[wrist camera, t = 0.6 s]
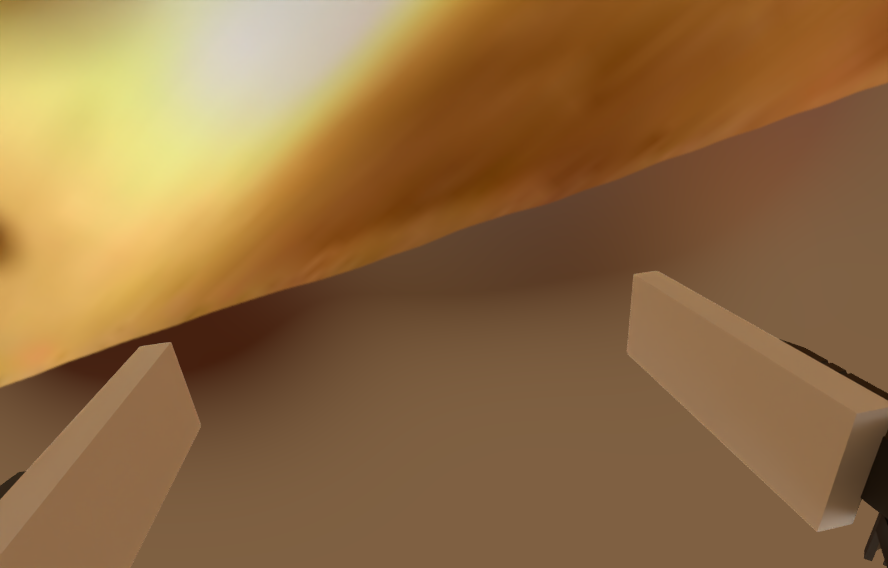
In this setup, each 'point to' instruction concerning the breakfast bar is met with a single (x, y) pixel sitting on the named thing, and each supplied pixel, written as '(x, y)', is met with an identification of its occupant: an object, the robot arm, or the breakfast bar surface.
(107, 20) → the breakfast bar surface
